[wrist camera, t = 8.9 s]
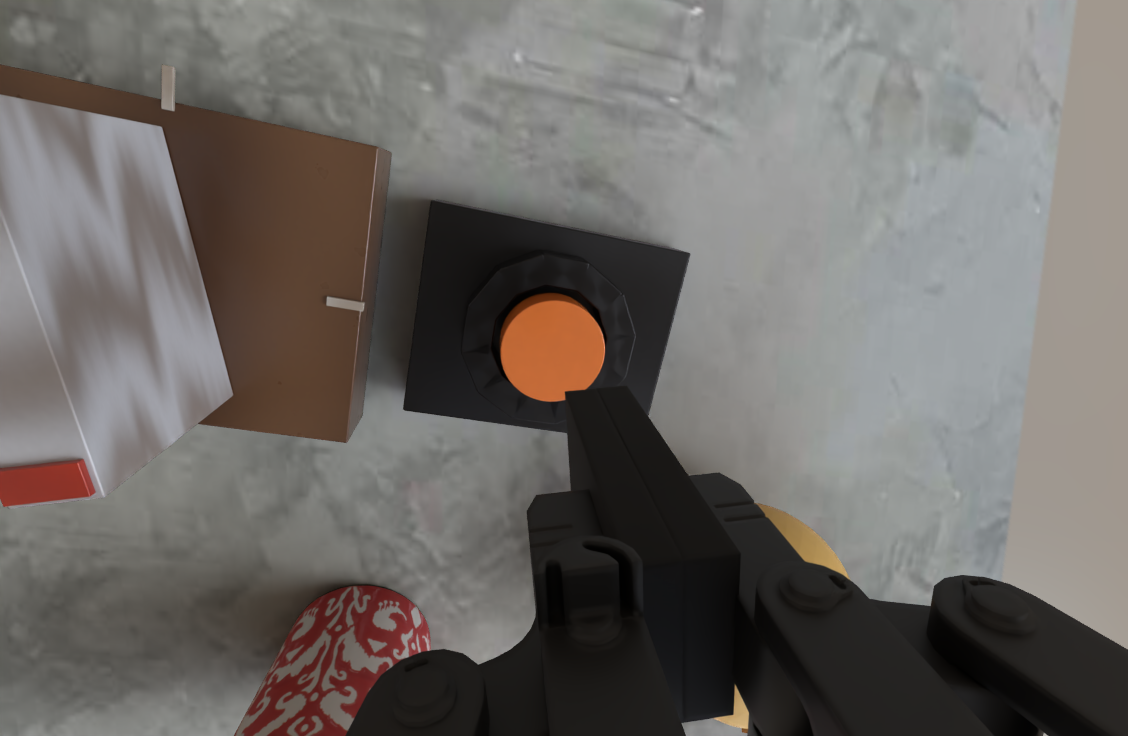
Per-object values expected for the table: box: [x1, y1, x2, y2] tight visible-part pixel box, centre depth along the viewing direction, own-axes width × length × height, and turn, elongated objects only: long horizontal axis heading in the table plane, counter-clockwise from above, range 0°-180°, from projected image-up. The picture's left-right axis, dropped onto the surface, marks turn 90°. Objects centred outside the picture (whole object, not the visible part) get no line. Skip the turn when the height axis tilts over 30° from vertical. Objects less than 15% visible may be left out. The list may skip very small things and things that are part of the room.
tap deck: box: [0, 64, 392, 447], centre depth 22 cm, size 14×14×3 cm
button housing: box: [403, 200, 690, 433], centre depth 24 cm, size 11×9×4 cm
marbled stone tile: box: [0, 94, 233, 509], centre depth 17 cm, size 10×2×8 cm, turn 4°
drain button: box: [500, 293, 605, 402], centre depth 22 cm, size 4×4×2 cm
